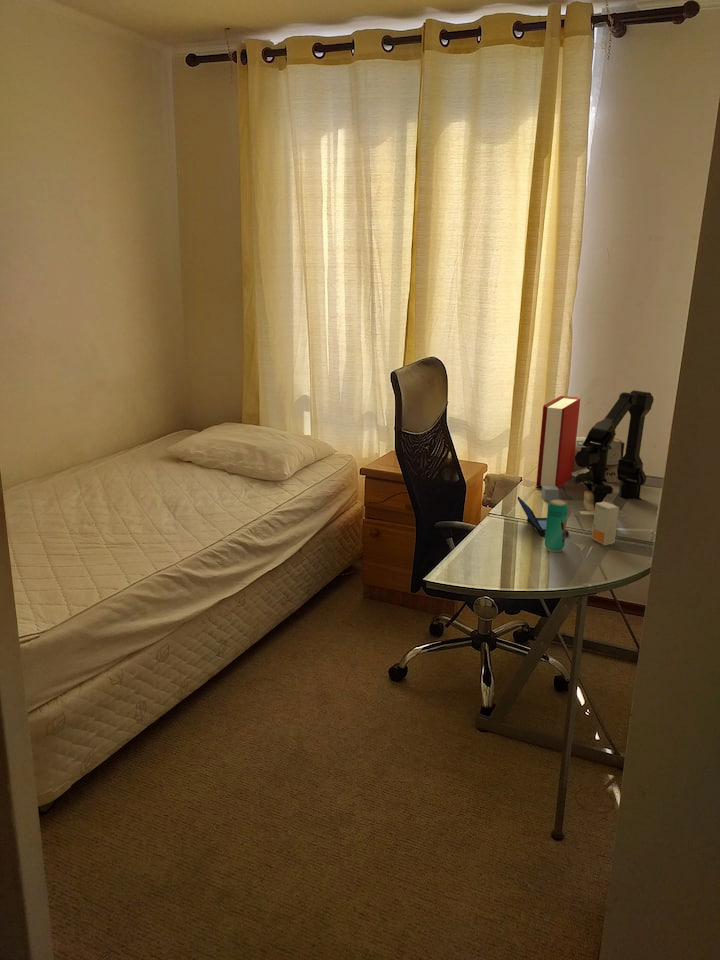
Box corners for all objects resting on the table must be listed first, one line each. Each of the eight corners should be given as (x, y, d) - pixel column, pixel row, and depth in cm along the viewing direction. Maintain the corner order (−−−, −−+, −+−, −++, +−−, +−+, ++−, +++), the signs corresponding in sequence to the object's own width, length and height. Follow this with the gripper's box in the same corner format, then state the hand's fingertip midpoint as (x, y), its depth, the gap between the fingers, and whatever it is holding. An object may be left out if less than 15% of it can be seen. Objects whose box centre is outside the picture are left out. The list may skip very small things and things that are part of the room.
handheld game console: (569, 537, 234) (572, 509, 231) (528, 537, 233) (530, 509, 230) (553, 521, 249) (556, 494, 246) (514, 521, 248) (516, 494, 245)
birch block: (598, 506, 263) (600, 491, 262) (603, 510, 258) (605, 495, 256) (583, 505, 263) (584, 490, 262) (587, 510, 258) (589, 495, 256)
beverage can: (560, 554, 219) (565, 506, 215) (541, 550, 222) (545, 502, 217) (566, 548, 223) (571, 501, 219) (547, 544, 226) (552, 497, 222)
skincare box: (590, 539, 232) (594, 502, 229) (601, 537, 233) (605, 501, 230) (604, 545, 226) (608, 508, 223) (615, 544, 228) (619, 506, 225)
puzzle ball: (600, 475, 306) (604, 439, 302) (566, 476, 303) (570, 440, 299) (583, 466, 320) (586, 432, 316) (550, 467, 317) (553, 432, 313)
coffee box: (620, 482, 295) (625, 443, 291) (604, 482, 296) (608, 442, 291) (613, 476, 304) (617, 438, 300) (597, 476, 304) (601, 437, 300)
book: (556, 490, 283) (564, 407, 274) (536, 487, 286) (543, 405, 278) (573, 474, 306) (581, 397, 297) (554, 471, 310) (561, 395, 301)
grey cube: (554, 498, 273) (555, 485, 271) (557, 503, 268) (559, 489, 267) (541, 498, 273) (542, 485, 272) (544, 502, 268) (545, 489, 267)
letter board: (610, 502, 269) (611, 501, 269) (627, 518, 252) (627, 517, 252) (561, 501, 269) (561, 499, 269) (573, 517, 252) (574, 515, 252)
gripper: (567, 455, 265) (563, 497, 269) (582, 469, 247) (577, 513, 251) (599, 456, 265) (594, 498, 269) (615, 470, 247) (610, 514, 251)
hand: (593, 506), depth 260 cm, fingers closed on birch block, 5 cm apart
